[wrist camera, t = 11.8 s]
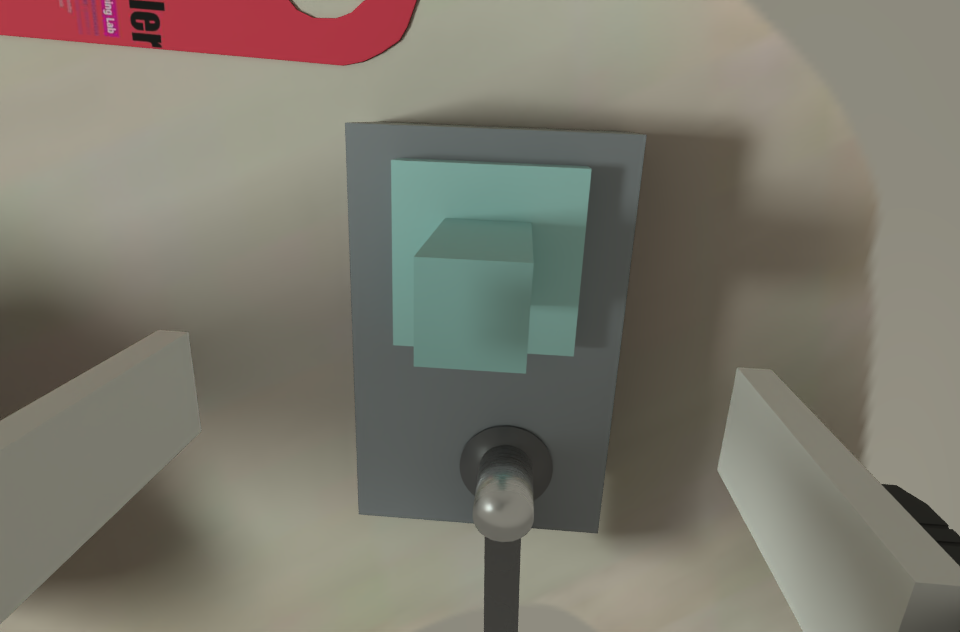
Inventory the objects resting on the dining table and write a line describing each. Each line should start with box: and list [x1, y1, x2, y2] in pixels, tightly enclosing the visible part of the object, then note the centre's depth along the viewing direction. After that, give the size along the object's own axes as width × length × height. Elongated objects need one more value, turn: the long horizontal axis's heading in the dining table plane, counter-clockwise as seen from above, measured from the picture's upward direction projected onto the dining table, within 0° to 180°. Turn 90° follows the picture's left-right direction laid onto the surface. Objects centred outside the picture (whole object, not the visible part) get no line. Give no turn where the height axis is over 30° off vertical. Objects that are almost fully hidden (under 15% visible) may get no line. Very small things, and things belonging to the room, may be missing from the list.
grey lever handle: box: [473, 445, 534, 632], centre depth 32 cm, size 12×3×4 cm, turn 0°
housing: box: [345, 122, 646, 533], centre depth 34 cm, size 14×22×6 cm, turn 178°
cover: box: [391, 158, 592, 374], centre depth 25 cm, size 9×9×10 cm
